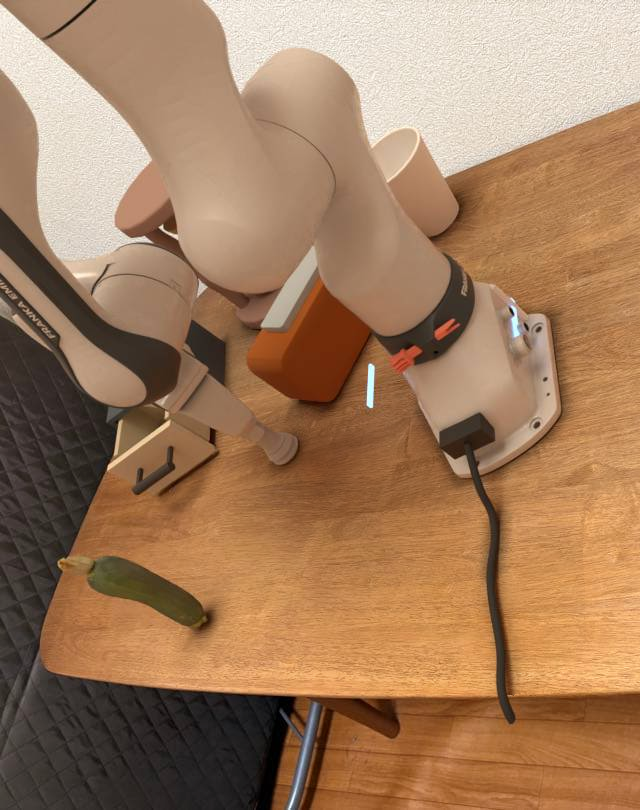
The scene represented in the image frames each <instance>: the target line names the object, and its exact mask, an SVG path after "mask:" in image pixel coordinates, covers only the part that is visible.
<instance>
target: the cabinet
mask: <svg viewBox="0 0 640 810" xmlns="http://www.w3.org/2000/svg"><path fill="white" fill-rule="evenodd" d="M185 344H187V345H188V346H189V347H190V350H191V351H192V353H193V354H194V356H195V357H196V358H197V359H198V360H199V361H201V362H202V363H203V364H204V365H205V366H207V367H208V369H209V370H208V372H207V373H208V374H209V375H211V376H212V377H213V378H214V379H216V380H217V381H218V382H219V383H221V384H222V385H223V386H224V387H225V353H226V352H225V349H226V347H225V346H226V342H225V341H223V340H222V339H221V338H219V337H218V336H216V335H215V334H213V333H212V332H211V331H209V329H206V327H204V326H202V325H201V324H200V323H198V322H197V321H195V320H194V319H193V318H191V323H190V326H189V330H188V333H187V337H186V340H185ZM132 409H133V408H132ZM132 409H118V408H113V407H109V406H108V407H107V415H106V421H105V423H106V424H107V425H109V426H111V427H113V428H114V429H116V430H118V424H119V419H120V418H121V417H122V416H124V415H125V414H126V413H128V412H129V411H130V410H132Z"/></svg>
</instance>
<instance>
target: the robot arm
mask: <svg viewBox="0 0 640 810" xmlns="http://www.w3.org/2000/svg"><path fill="white" fill-rule="evenodd" d="M0 6H2V7H3V8H5V10H6V11H8V12H9V13H10V14H11V15H12V16H13V17H15V19H16V20H17V21H19V22H20V23H21V24H22V25H23V26H24V27H25V28H26V29H27V30H28V31H30V32H31V33H32V34H33V35H34V36H35V37H36V38H38V39H39V40H40V41H41V42H42V43H43V44H44V45H45V46H47V47H48V48H49V49H50V50H51V51H52V52H53V53H54V54H55V55H57V56H58V57H59V58H60V59H61V61H63V62H64V63H65V64H67V66H68V67H70V69H72V70H73V71H74V72H75V73H76V74H77V75H79V77H80V78H81V79H82V80H84V81H85V82H86V83H87V84H88V85H89V86H90V87H91V88H92V89H93V90H95V91H96V93H98V94H99V95H100V97H102V98H103V99H104V100H105V101H106V102H107V103H108V104H109V105H110V106H111V107H112V108H113V109H114V110H115V111H116V112H117V113H118V114H119V116H121V117H122V119H123V120H124V121H125V122H126V123H127V125H128V126H129V127H130V129H131V130H132V131H133V133H134V134H135V135H136V137H137V138H138V139H139V141H140V142H141V144H142V146H143V147H144V149H145V150H146V152H147V153H148V155H149V157H150V159H151V161H152V160H153V162H154V164H155V166H156V168H157V170H158V172H159V173H160V175H161V178H162V180H163V182H164V184H165V186H166V189H167V191H168V194H169V197H170V199H171V202H172V206H173V209H174V213H175V218H176V223H177V231H178V235H177V240H179V244H180V247H181V249H182V251H183V253H184V255H185V256H186V258H187V259H188V261H189V262H190V263H191V265H192V266H193V267H194V268H195V269H196V270H197V271H198V272H199V273H200V274H201V275H203V276H204V277H205V278H206V279H208V280H209V281H211V282H213V283H214V284H216V285H218V286H220V287H223V288H225V289H228V290H231V291H235V292H241V293H264V292H269V291H273V290H276V289H278V288H280V287H281V286H283V285H284V284H285V282H286V281H287V280H288V279H289V277H290V276H291V275H292V274H293V272H294V271H295V270H296V268H297V267H298V266H299V264H300V263H301V262H302V260H303V259H304V257H305V256H306V255H307V253H308V252H309V250H310V249H311V247H312V245H313V243H314V247H315V251H316V259H317V266H318V270H319V274H320V277H321V279H322V282H323V283H324V285H325V287H326V288H327V290H328V291H329V292H330V293H331V294H332V295H333V296H334V297H335V298H336V299H337V300H338V301H340V302H341V303H342V304H343V305H344V306H345V307H347V308H348V309H349V310H350V311H351V312H353V313H354V314H355V315H356V316H357V317H358V318H360V319H361V320H362V321H363V322H364V323H365V324H367V325H368V326H369V328H370V330H371V334H372V335H373V336H374V338H375V339H376V341H377V342H378V343H379V345H380V346H381V347H382V348H383V349H384V351H386V352H387V353H388V354H389V355H390V357H389V361H388V362H389V363H390V365H391V367H392V369H393V370H394V371H395V372H396V373H398V374H402V375H403V377H404V378H405V380H406V381H407V383H408V385H409V386H410V388H411V390H412V391H413V393H414V395H415V397H416V398H417V404H418V406H419V408H420V410H421V412H422V414H423V415H424V418H425V420H426V421H427V423H428V425H429V426H430V430H431V431H432V433H433V435H434V437H435V438H436V440H437V443H438V444H439V449H440V450H441V451H442V452H443V454H444V456H445V458H446V460H447V462H448V464H449V466H450V467H451V469H452V471H453V473H454V474H455V475H456V476H457V478H459V479H472V481H473V486H474V489H475V491H476V494H477V496H478V497H479V499H480V502H481V503H482V505H483V507H484V509H485V511H486V514H487V517H488V520H489V527H490V542H489V549H488V556H487V563H486V571H485V574H486V575H485V580H486V581H485V582H486V596H487V604H488V608H489V610H488V611H489V616H490V620H491V626H492V631H493V637H494V638H493V639H494V645H495V655H496V657H495V659H496V663H495V664H496V666H495V667H496V668H495V670H496V671H495V686H496V694H497V699H498V703H499V706H500V708H501V711H502V713H503V715H504V718H505V719H506V721H507V723H508V724H509V725H514V723H515V722H516V720H517V719H516V713H515V712H514V709H513V707H512V704H511V702H510V699H509V695H508V690H507V681H506V680H507V679H506V675H507V654H506V643H505V638H504V632H503V626H502V619H501V616H500V609H499V603H498V597H497V590H496V589H497V587H496V566H497V559H498V558H497V557H498V551H499V545H500V544H499V543H500V525H499V519H498V515H497V511H496V509H495V507H494V504H493V501H492V500H491V499H490V497H489V495H488V492H487V491H486V489H485V486H484V484H483V480H482V477H481V476H483V475H486V474H489V473H490V472H493V471H494V470H497V469H499V468H500V467H503V466H504V465H506V464H508V463H509V462H511V461H513V460H514V459H516V458H517V457H518V456H520V455H522V454H523V453H525V452H527V450H529V449H530V448H531V447H533V446H534V445H535V444H536V443H537V442H539V441H540V440H541V439H542V438H543V437H544V436H545V435H546V434H547V433H548V432H549V431H550V430H551V428H552V427H553V426H554V425H555V423H556V422H557V420H558V419H559V418H560V416H561V414H562V403H561V394H560V386H559V379H558V371H557V363H556V356H555V355H556V354H555V349H554V339H553V333H552V323H551V320H550V318H549V317H547V316H546V315H545V314H544V313H540V312H539V313H529V314H528V313H526V312H525V311H524V310H523V309H522V308H521V307H520V306H519V305H518V304H517V303H516V301H515V300H514V299H513V298H512V297H510V296H509V295H507V293H505V292H504V291H503V290H502V289H501V288H500V287H499V286H498V285H496V284H493V283H487V282H481V281H478V280H475V279H472V277H471V275H469V273H468V272H467V271H466V270H465V268H464V267H463V266H462V265H461V263H459V262H458V261H457V260H456V259H454V258H453V257H451V256H450V255H449V254H448V253H447V252H443V251H441V250H440V249H439V248H438V247H437V246H436V245H435V244H434V243H433V242H432V241H431V240H430V238H429V237H427V236H426V235H425V234H424V233H423V232H422V231H421V230H420V229H419V227H418V226H417V225H416V224H415V223H414V222H413V221H412V220H411V218H410V217H409V216H408V215H407V214H406V212H405V211H404V210H403V208H402V207H401V205H400V204H399V202H398V201H397V199H396V197H395V196H394V194H393V192H392V190H391V189H390V187H389V185H388V183H387V181H386V179H385V177H384V175H383V172H382V170H381V168H380V166H379V164H378V162H377V160H376V157H375V155H374V152H373V150H372V148H371V146H372V145H371V142H370V140H369V137H368V133H367V130H366V127H365V123H364V117H363V111H362V105H361V104H362V103H361V97H360V93H359V89H358V87H357V85H356V83H355V81H354V80H353V78H352V77H351V75H349V73H348V71H346V70H345V68H343V67H342V66H341V65H340V64H339V63H337V62H336V61H335V60H334V59H332V58H330V57H329V56H327V55H325V54H323V53H322V52H319V51H317V50H313V49H310V48H302V47H289V48H285V49H284V48H283V49H282V50H279V51H277V52H275V53H274V54H273V55H272V56H270V58H269V59H268V60H267V61H265V62H264V63H263V64H262V65H261V66H260V67H259V68H258V69H257V71H256V72H254V73H253V75H252V76H251V77H250V78H249V79H248V80H247V81H246V82H245V84H244V86H243V87H242V90H241V92H240V90H239V88H238V85H237V83H236V79H235V77H234V73H233V72H232V67H231V62H230V55H229V48H228V40H227V36H226V33H225V29H224V27H223V25H222V23H221V20H220V19H219V17H218V16H217V14H216V13H215V11H214V10H213V9H212V8H211V7H210V5H208V4H207V3H206V2H205V1H204V0H0ZM39 156H40V136H39V129H38V123H37V119H36V117H35V115H34V112H33V111H32V109H31V107H30V106H29V104H28V102H27V101H26V99H25V97H24V96H23V94H22V93H21V91H20V90H19V89H18V88H17V86H16V85H15V83H14V82H13V81H12V79H10V78H9V76H8V75H7V73H5V72H4V71H3V69H1V68H0V299H1V300H2V301H3V302H4V303H5V304H6V305H7V306H8V307H9V308H10V309H11V310H10V311H11V318H12V319H13V321H14V322H15V324H16V325H17V326H18V327H19V328H20V329H21V330H22V331H23V332H24V333H26V334H27V335H28V336H30V338H31V339H33V340H35V341H36V342H37V343H39V344H40V345H42V346H43V347H44V348H46V349H47V350H48V351H50V352H52V353H53V355H54V356H55V357H56V359H57V360H58V362H59V363H60V365H61V367H62V368H63V370H64V371H65V373H66V374H67V376H68V377H69V379H70V380H71V382H72V383H73V384H74V385H75V386H76V387H77V388H78V389H79V390H80V391H81V392H82V393H83V394H85V395H86V396H87V397H89V398H90V399H91V400H93V401H95V402H96V403H99V404H100V405H102V406H106V407H108V408H109V407H113V408H118V409H132V408H138V407H142V406H143V407H148V406H150V407H156V408H160V409H163V410H165V411H167V412H170V413H172V414H176V413H177V412H179V413H181V414H184V415H186V416H188V417H190V418H192V419H194V420H196V421H198V422H200V423H203V424H205V425H207V426H209V427H210V429H213V430H215V431H217V432H219V433H221V434H223V435H226V436H228V437H230V438H235V439H239V438H242V437H241V436H242V435H244V436H246V437H245V438H248V439H249V438H250V439H251V440H253V441H252V442H254V443H256V442H258V441H260V439H261V438H262V437H263V435H264V433H265V431H264V430H263V429H262V428H260V427H259V426H257V425H256V424H255V423H254V422H253V419H254V417H255V416H256V415H255V413H254V412H253V410H252V409H251V408H250V407H249V406H248V405H247V404H246V403H244V402H243V400H241V399H240V398H239V397H237V396H236V395H235V394H234V393H233V392H232V391H230V389H228V388H227V387H226V386H225V385H224V386H223V385H222V384H221V383H219V382H218V381H217V380H216V379H214V378H213V377H212V376H211V375H209V374H208V373H207V372H208V370H209V369H208V367H207V366H205V365H204V364H203V363H202V362H201V361H199V360H198V359H197V358H196V357H195V356H194V354H193V353H192V351H191V350H190V347H189V346H188V345H187V344H185V340H186V337H187V333H188V330H189V326H190V323H191V319H192V317H193V313H194V310H195V306H196V303H197V298H198V295H199V294H198V293H199V288H200V280H199V279H198V276H197V274H196V272H195V271H194V269H193V268H192V266H191V265H190V264H189V263H188V262H187V261H186V260H185V259H184V258H183V257H182V256H180V255H179V254H177V253H176V252H174V251H172V250H171V249H168V248H166V247H164V246H161V245H158V244H154V243H153V242H148V241H137V242H131V243H127V244H124V245H121V246H119V247H117V249H115V250H113V251H112V252H109V253H106V254H103V255H99V256H94V257H90V258H86V259H79V260H77V259H76V260H68V259H64V258H59V257H58V256H57V255H56V254H55V252H54V251H53V249H52V247H51V246H50V244H49V242H48V241H47V238H46V236H45V233H44V231H43V228H42V223H41V219H40V212H39V206H38V204H39V203H38V167H39V165H38V164H39ZM367 372H368V374H367V394H366V406H367V407H368V408H370V409H372V408H374V389H375V388H374V386H375V383H374V382H375V365H373V364H372V363H369V364H368V371H367Z"/></svg>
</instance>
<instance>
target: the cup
mask: <svg viewBox="0 0 640 810" xmlns="http://www.w3.org/2000/svg"><path fill="white" fill-rule="evenodd" d="M371 148H372V150H373V152H374V155H375V157H376V160H377V162H378V164H379V166H380V168H381V170H382V172H383V175H384V177H385V179H386V181H387V183H388V185H389V187H390V189H391V190H392V192H393V194H394V196H395V197H396V199H397V201H398V202H399V204H400V205H401V207H402V208H403V210H404V211H405V212H406V214H407V215H408V216H409V217H410V218H411V220H412V221H413V222H414V223H415V224H416V225H417V226H418V227H419V229H420V230H421V231H422V232H423V233H424V234H425V235H426V236H427V238H430V237H431V238H432V237H435V236H438V235H440V234H442V233H443V232H444V231H446V230H447V229H449V227H451V225H452V224H453V222H455V220H456V218H457V216H458V214H459V211H460V205H459V203H458V201H457V199H456V197H455V196H454V193H453V192H452V190H451V188H450V186H449V184H448V183H447V180H446V178H445V177H444V175H443V174H442V171H441V170H440V168H439V166H438V164H437V163H436V161H435V159H434V157H433V156H432V153H431V151H430V150H429V148H428V146H427V144H426V143H425V141H424V139H423V137H422V135H421V132H420V130H419V129H418V128H416V127H415V126H412V125H403V126H399V127H397V128H395V129H392V130H390V131H389V132H387V133H386V134H384V135H382V137H380V138H379V139H377V140H376V141H375V142H374V143H373V144H372V145H371Z"/></svg>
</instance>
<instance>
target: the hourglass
mask: <svg viewBox="0 0 640 810" xmlns="http://www.w3.org/2000/svg"><path fill="white" fill-rule="evenodd" d="M161 226H162V228H163V229H161ZM114 227H116V228H117V229H118V230H119V231H120V232H121V233H123V234H124V235H125V236H127V237H128V238H130V239H137V238H143V237H145V238H146V239H148V240H149V241H150V242H151V243H154V244H158V245H161V246H164V247H166V248H168V249H171V250H172V251H174V252H176V253H177V254H179V255H180V256H182V257H183V258H184V259H185V260H186V261H187V262H188V263H189V264H190V265H191V263H190V262H189V261H188V259H187V258H186V256H185V255H184V253H183V251H182V249H181V247H180V244H179V240H178V238H175V237H174V236H172V235H177V236H178V231H177V223H176V218H175V213H174V209H173V206H172V202H171V199H170V197H169V194H168V191H167V189H166V186H165V184H164V182H163V180H162V178H161V175H160V173H159V172H158V170H157V168H156V166H155V164H154V162H153V160H152V159H151V161H150V162H149V163H148V164H146V166H145V167H144V168H143V169H142V170H141V171H140V172H139V174H138V175H137V176H136V178H135V179H134V180H133V181H132V182H131V184H130V185H129V186H128V188H127V189H126V191H125V193H124V194H123V196H122V197H121V199H120V201H119V203H118V206H117V207H116V211H115V213H114ZM166 232H168V233H166ZM169 233H170V234H169ZM171 234H172V235H171ZM191 266H192V265H191ZM192 268H193V269H194V271H195V272H196V274H197V276H198V280H199V282H201V283H202V284H203V285H205V286H206V287H207V288H208V289H211V291H214V292H216V293H218V294H219V295H221V296H222V297H224V298H225V299H226V300H228V301H229V302H230V303H232V304H233V305H234V309H235V313H236V318H237V319H238V320H239V321H240V322H242V323H243V325H245V326H247V327H248V328H250V329H251V330H262V328H261V324H262V322H263V320H264V319H265V317H266V315H267V314H268V312H269V310H270V308H271V307H272V305H273V303H274V302H275V300H276V298H277V297H278V295H279V293H280V291H281V290H282V288H283V286H284V285H285V284H284V285H283V286H281V287H280V288H278V289H276V290H273V291H269V292H264V293H241V292H235V291H231V290H228V289H225V288H223V287H220V286H218V285H216V284H214V283H213V282H211V281H209V280H208V279H206V278H205V277H204V276H203V275H201V274H200V273H199V272H198V271H197V270H196V269H195V268H194V267H193V266H192ZM285 283H286V282H285Z"/></svg>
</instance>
